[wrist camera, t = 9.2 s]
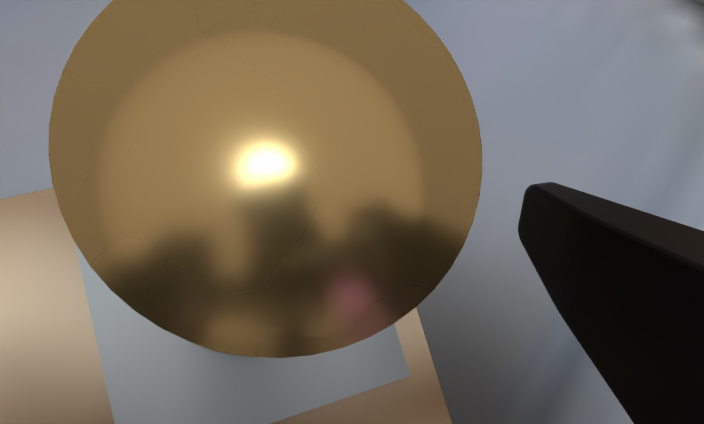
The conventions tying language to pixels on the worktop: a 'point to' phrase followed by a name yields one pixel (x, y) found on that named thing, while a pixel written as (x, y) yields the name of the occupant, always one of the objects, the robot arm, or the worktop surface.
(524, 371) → the worktop surface
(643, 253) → the robot arm
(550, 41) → the worktop surface
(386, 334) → the grey flat square plate
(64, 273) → the board
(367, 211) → the tall brass spacer
